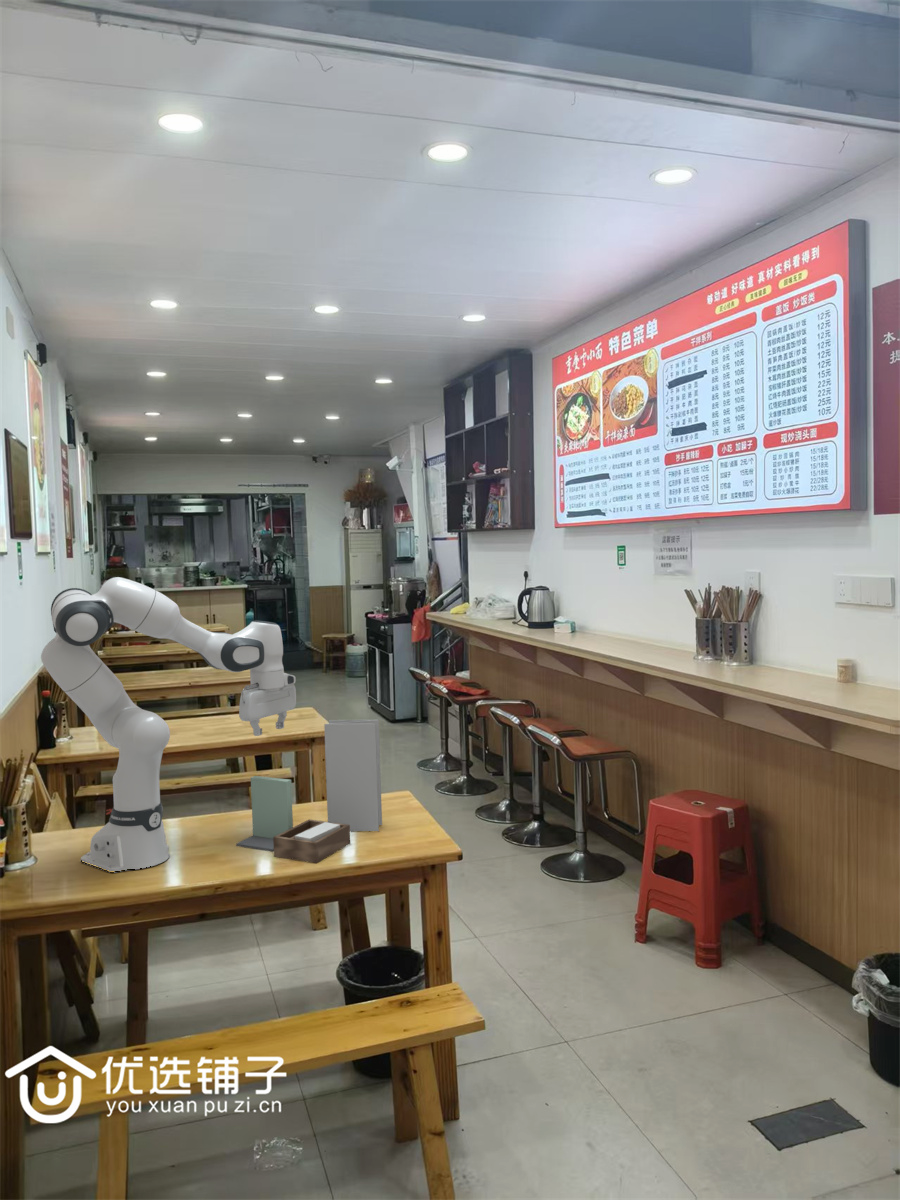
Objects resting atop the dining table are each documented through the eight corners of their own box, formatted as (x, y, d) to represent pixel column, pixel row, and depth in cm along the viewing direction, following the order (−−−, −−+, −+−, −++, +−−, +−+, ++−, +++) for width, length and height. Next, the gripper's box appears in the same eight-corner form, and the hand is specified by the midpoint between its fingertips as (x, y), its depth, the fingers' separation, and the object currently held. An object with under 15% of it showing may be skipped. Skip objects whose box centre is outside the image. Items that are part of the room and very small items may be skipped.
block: (288, 840, 227) (286, 781, 226) (252, 835, 232) (250, 777, 232) (293, 838, 229) (291, 779, 228) (257, 833, 234) (255, 775, 233)
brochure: (382, 825, 240) (378, 719, 239) (378, 831, 235) (375, 723, 233) (332, 825, 242) (329, 720, 240) (328, 831, 236) (324, 724, 234)
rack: (274, 856, 217) (273, 837, 217) (309, 837, 231) (309, 819, 231) (316, 863, 212) (315, 843, 211) (350, 843, 226) (349, 824, 225)
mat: (236, 845, 226) (236, 843, 226) (273, 827, 241) (273, 825, 241) (272, 851, 221) (272, 849, 221) (309, 832, 235) (309, 830, 235)
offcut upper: (295, 847, 216) (294, 835, 216) (325, 833, 226) (325, 822, 226) (310, 850, 214) (310, 838, 213) (340, 836, 224) (340, 824, 224)
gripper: (251, 686, 218) (253, 740, 218) (299, 676, 236) (301, 725, 237) (232, 685, 221) (234, 738, 221) (280, 675, 239) (282, 724, 240)
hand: (269, 731), depth 229 cm, fingers open, 8 cm apart
